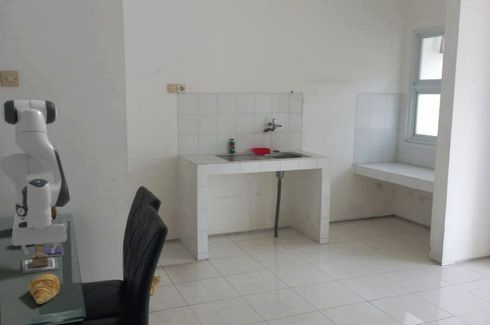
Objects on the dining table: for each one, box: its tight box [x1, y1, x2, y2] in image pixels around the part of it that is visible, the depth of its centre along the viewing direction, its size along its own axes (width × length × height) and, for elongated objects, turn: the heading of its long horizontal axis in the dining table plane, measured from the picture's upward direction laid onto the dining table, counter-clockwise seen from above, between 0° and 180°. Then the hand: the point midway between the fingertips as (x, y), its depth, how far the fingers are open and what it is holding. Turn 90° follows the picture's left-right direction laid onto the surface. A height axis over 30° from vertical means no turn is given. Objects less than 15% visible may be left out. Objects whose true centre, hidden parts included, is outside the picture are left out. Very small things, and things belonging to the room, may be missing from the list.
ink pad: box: [44, 245, 65, 258], centre depth 202 cm, size 9×9×2 cm
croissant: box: [27, 272, 60, 305], centre depth 163 cm, size 21×10×8 cm, turn 16°
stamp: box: [31, 243, 49, 268], centre depth 187 cm, size 6×6×8 cm
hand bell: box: [50, 206, 57, 220], centre depth 220 cm, size 8×8×16 cm
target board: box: [21, 256, 59, 274], centre depth 188 cm, size 13×13×1 cm
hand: (39, 253), depth 187 cm, fingers open, 8 cm apart
